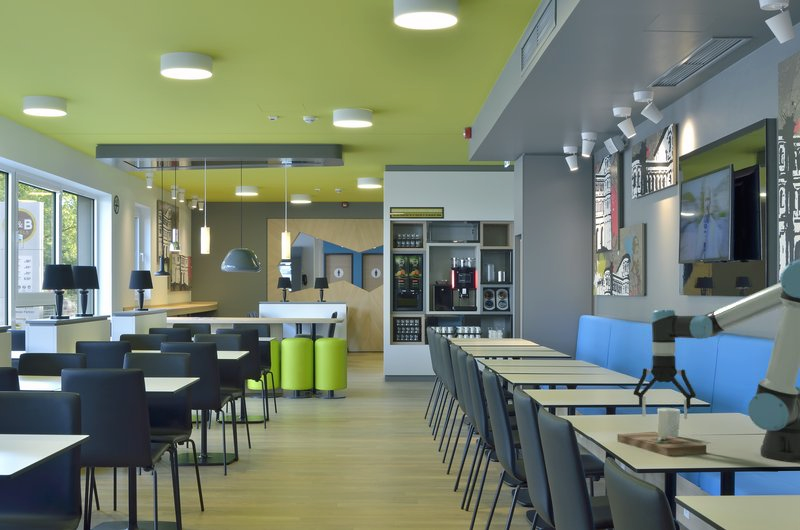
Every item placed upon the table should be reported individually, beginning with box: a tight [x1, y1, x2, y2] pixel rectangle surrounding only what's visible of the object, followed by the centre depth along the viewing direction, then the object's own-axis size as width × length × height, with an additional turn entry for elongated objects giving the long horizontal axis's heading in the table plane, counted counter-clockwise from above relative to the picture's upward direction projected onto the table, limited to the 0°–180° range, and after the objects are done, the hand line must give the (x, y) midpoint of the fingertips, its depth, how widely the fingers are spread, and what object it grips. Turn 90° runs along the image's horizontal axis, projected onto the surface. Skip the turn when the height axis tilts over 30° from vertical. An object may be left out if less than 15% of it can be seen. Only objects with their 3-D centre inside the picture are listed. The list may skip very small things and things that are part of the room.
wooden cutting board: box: [616, 431, 707, 457], centre depth 284 cm, size 26×16×3 cm, turn 22°
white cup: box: [657, 407, 681, 438], centre depth 304 cm, size 8×8×10 cm
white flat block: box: [657, 409, 668, 441], centre depth 282 cm, size 2×11×10 cm, turn 153°
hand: (664, 417), depth 284 cm, fingers open, 13 cm apart
